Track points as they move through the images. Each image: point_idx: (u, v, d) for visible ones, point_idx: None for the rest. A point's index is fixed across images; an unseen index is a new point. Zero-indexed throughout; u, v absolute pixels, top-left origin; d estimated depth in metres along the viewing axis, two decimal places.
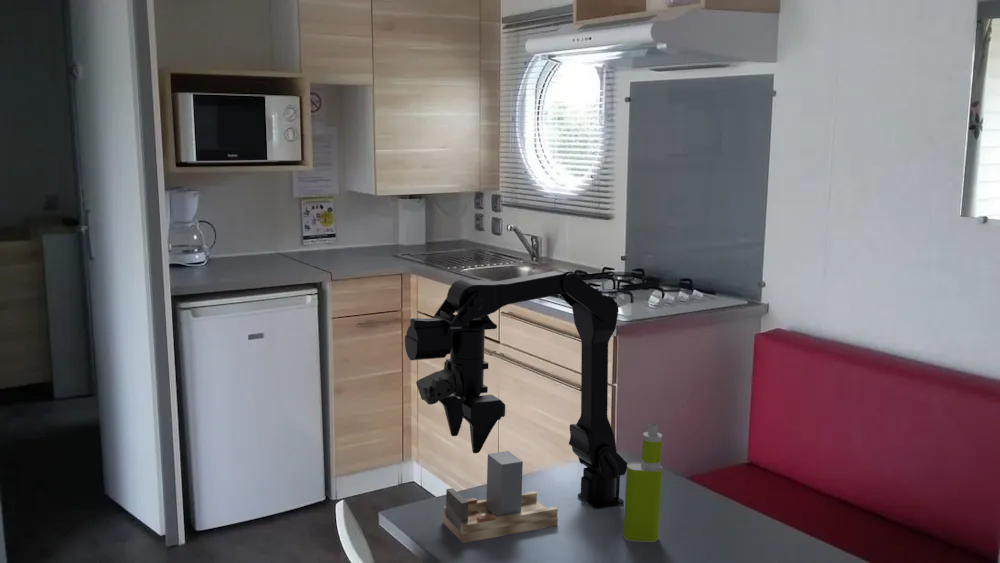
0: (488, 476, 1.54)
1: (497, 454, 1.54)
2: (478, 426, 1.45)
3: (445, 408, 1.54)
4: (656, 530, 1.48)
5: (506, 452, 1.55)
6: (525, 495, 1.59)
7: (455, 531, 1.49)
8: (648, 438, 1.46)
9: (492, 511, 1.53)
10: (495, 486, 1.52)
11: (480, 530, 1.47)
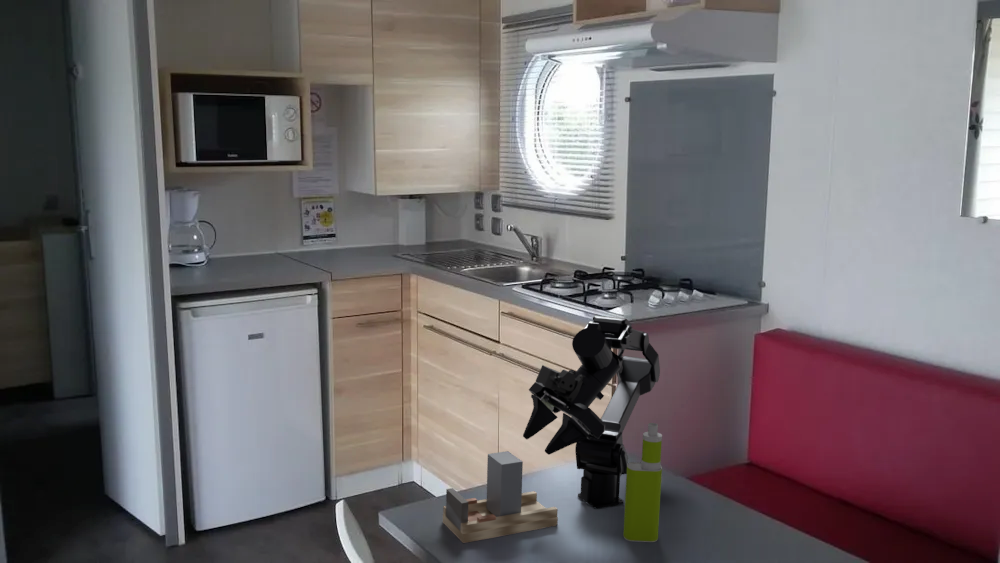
0: (488, 476, 1.54)
1: (497, 454, 1.54)
2: (567, 432, 1.51)
3: (535, 410, 1.60)
4: (656, 530, 1.48)
5: (506, 452, 1.55)
6: (525, 495, 1.59)
7: (455, 531, 1.49)
8: (648, 438, 1.46)
9: (492, 511, 1.53)
10: (495, 486, 1.52)
11: (480, 530, 1.47)
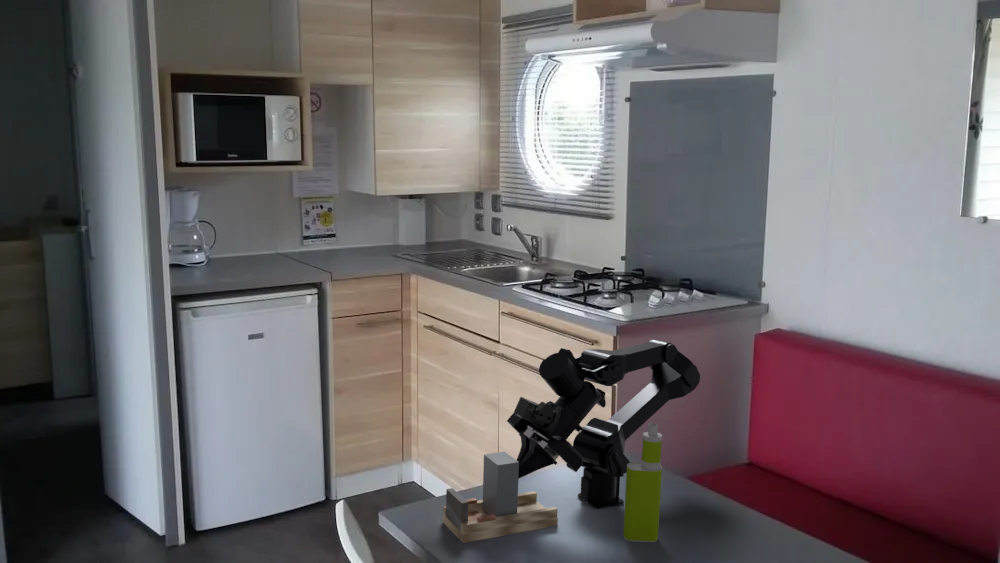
0: (484, 477, 1.54)
1: (493, 455, 1.54)
2: (534, 458, 1.53)
3: (523, 449, 1.55)
4: (656, 530, 1.48)
5: (502, 453, 1.55)
6: (525, 495, 1.59)
7: (455, 531, 1.49)
8: (648, 438, 1.46)
9: (488, 512, 1.53)
10: (491, 487, 1.51)
11: (480, 530, 1.47)
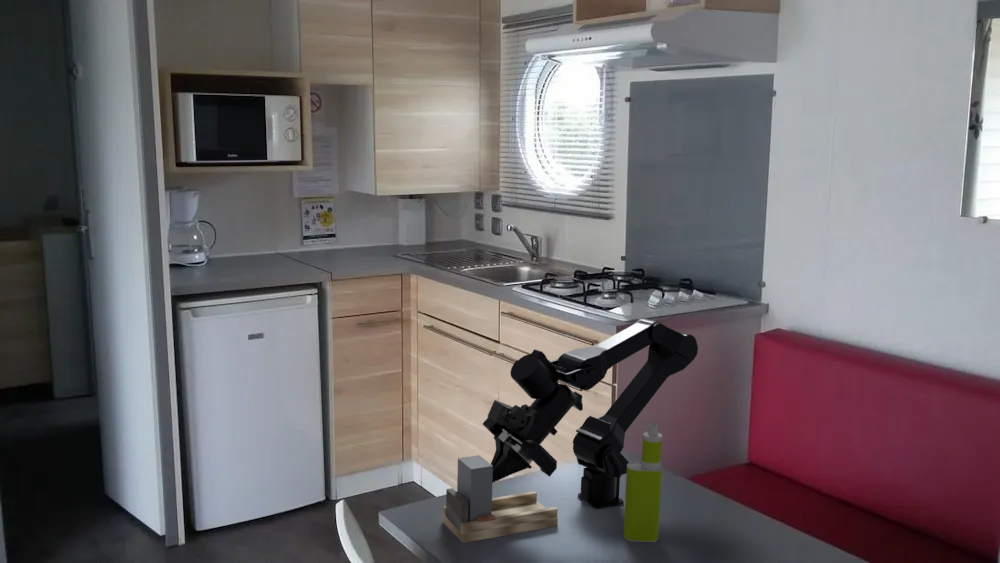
0: (458, 481, 1.52)
1: (467, 458, 1.51)
2: (508, 462, 1.51)
3: (497, 453, 1.53)
4: (656, 530, 1.48)
5: (476, 456, 1.53)
6: (525, 495, 1.59)
7: (455, 531, 1.49)
8: (648, 438, 1.46)
9: None
10: (465, 491, 1.49)
11: (480, 530, 1.47)
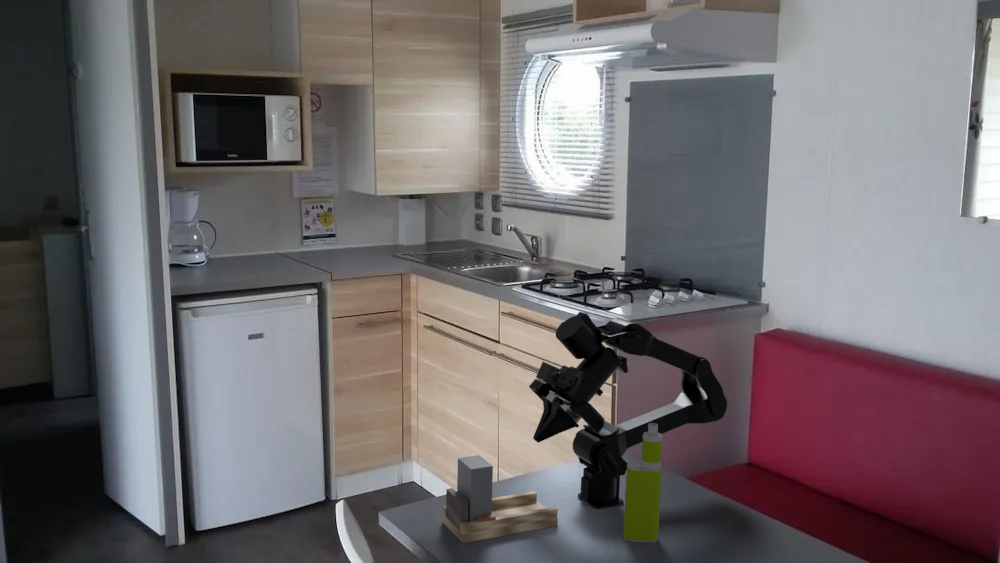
0: (458, 481, 1.52)
1: (467, 458, 1.51)
2: (556, 421, 1.57)
3: (545, 413, 1.58)
4: (656, 530, 1.48)
5: (476, 456, 1.53)
6: (525, 495, 1.59)
7: (455, 531, 1.49)
8: (648, 438, 1.46)
9: None
10: (465, 491, 1.49)
11: (480, 530, 1.47)
